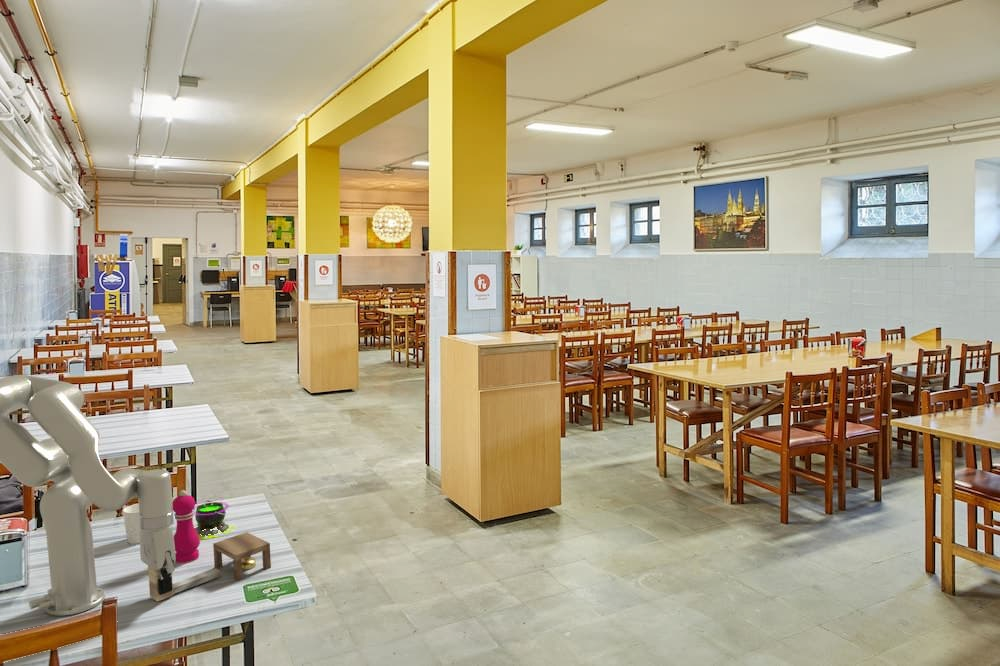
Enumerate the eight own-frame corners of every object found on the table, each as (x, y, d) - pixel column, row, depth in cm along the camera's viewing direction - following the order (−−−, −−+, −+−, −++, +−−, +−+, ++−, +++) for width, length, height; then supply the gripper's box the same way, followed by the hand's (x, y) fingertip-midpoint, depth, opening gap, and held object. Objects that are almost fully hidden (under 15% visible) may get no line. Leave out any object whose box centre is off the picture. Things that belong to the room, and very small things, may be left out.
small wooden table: (237, 580, 185) (235, 555, 184) (214, 567, 192) (213, 543, 192) (270, 567, 192) (269, 543, 191) (247, 555, 200) (246, 532, 199)
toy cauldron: (245, 529, 219) (243, 495, 218) (197, 544, 208) (195, 508, 207) (224, 517, 230) (222, 485, 228) (177, 530, 219) (175, 496, 218)
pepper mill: (190, 564, 194) (185, 495, 192) (167, 562, 196) (162, 494, 193) (206, 553, 201) (202, 486, 199) (183, 551, 203) (179, 485, 200)
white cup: (159, 537, 213) (157, 506, 212) (134, 547, 206) (132, 514, 205) (145, 532, 217) (142, 501, 216) (120, 541, 211) (117, 509, 209)
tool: (157, 601, 173) (154, 567, 172) (150, 596, 175) (147, 562, 174) (222, 577, 186) (220, 544, 185) (214, 572, 188) (212, 540, 187)
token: (242, 573, 190) (242, 566, 189) (233, 567, 193) (232, 561, 193) (259, 566, 193) (258, 560, 193) (249, 561, 197) (249, 555, 196)
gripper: (126, 516, 176) (131, 585, 178) (156, 533, 165) (161, 606, 167) (157, 507, 182) (161, 574, 184) (187, 523, 171) (191, 594, 173)
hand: (161, 588), depth 175 cm, fingers closed on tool, 4 cm apart
